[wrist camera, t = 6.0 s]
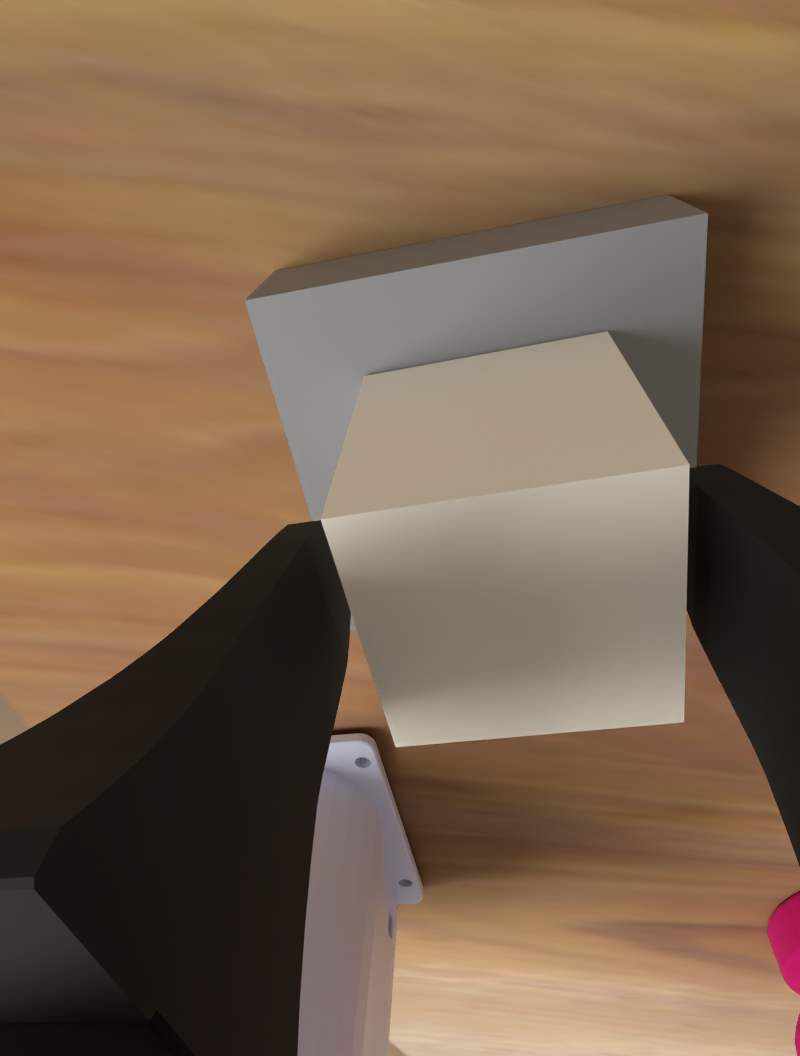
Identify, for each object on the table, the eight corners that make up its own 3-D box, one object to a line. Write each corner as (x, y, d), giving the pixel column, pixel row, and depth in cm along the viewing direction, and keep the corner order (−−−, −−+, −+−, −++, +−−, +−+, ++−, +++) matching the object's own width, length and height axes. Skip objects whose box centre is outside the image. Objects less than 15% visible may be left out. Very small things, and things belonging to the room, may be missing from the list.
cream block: (616, 536, 14) (683, 721, 10) (411, 563, 15) (395, 747, 11) (607, 331, 12) (690, 464, 8) (363, 376, 13) (321, 519, 9)
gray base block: (656, 524, 18) (690, 596, 15) (360, 560, 19) (346, 631, 16) (660, 191, 13) (708, 212, 11) (280, 265, 15) (244, 300, 12)
